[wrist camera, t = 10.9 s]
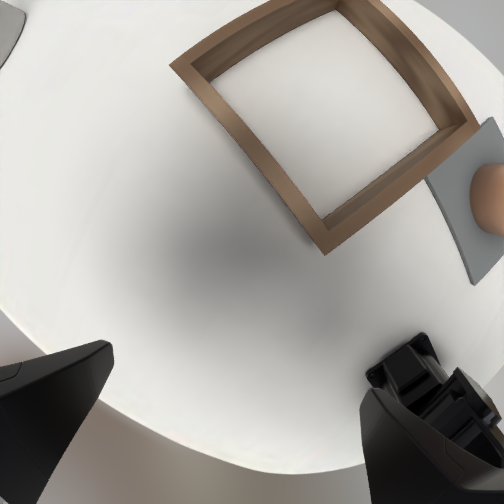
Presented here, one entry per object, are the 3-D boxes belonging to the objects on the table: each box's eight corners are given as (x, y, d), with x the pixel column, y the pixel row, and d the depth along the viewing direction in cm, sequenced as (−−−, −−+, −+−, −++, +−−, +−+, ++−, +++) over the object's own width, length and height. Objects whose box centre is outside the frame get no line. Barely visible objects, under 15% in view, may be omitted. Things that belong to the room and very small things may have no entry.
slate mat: (528, 216, 16) (532, 217, 16) (471, 283, 19) (474, 286, 18) (489, 117, 15) (492, 116, 15) (422, 176, 17) (426, 175, 17)
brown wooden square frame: (452, 135, 16) (481, 127, 12) (314, 242, 19) (324, 256, 15) (335, -2, 14) (343, -28, 10) (187, 85, 17) (168, 65, 13)
